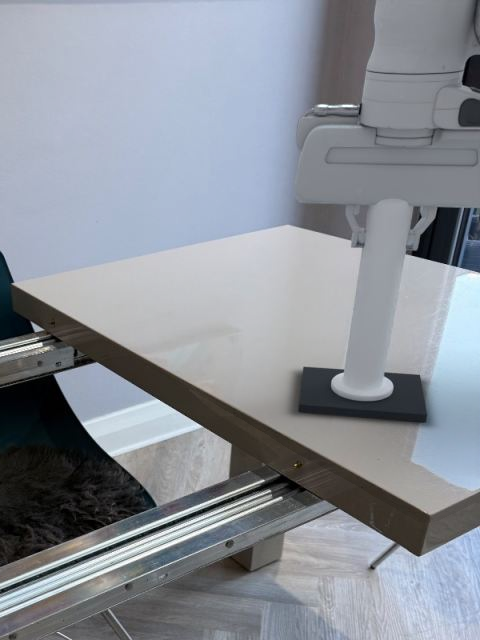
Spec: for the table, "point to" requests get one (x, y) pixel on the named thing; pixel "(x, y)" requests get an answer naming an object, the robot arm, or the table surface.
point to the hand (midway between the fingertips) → (383, 247)
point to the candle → (375, 302)
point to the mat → (397, 406)
